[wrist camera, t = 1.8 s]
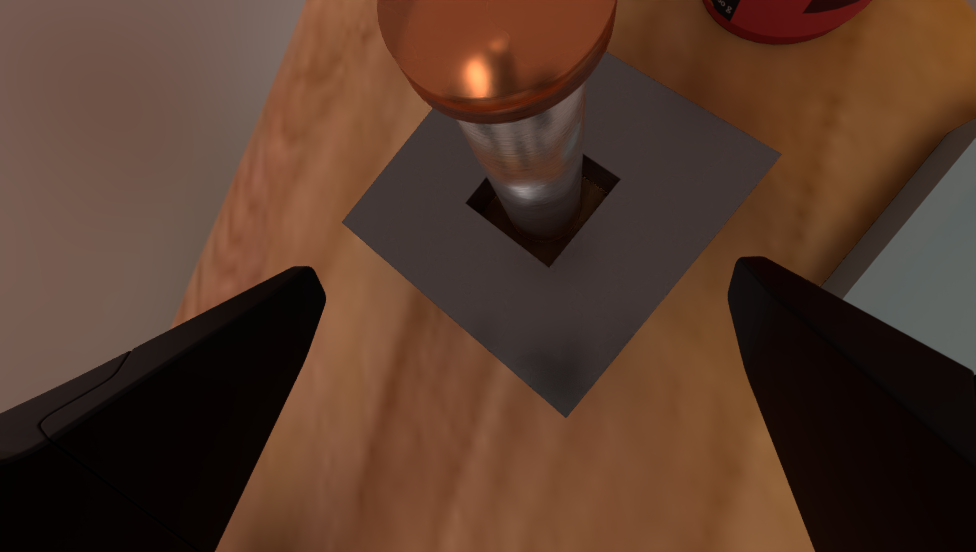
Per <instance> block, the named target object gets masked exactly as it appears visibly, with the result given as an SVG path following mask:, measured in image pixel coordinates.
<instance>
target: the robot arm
mask: <svg viewBox="0 0 976 552" xmlns="http://www.w3.org/2000/svg"><path fill="white" fill-rule="evenodd" d="M325 303H326V295H325V292H324V289H323V287H322V285H321V283H320V281H319V279H318V277H317V275H316V272H315V271H314V269H313V268H312V267H309V266H294V267H291V268H289V269H287V270H285V271H283V272H281V273H279V274H277V275H276V276H274V277H272V278H270V279H268V280H266V281H264V282H262V283H260V284H258V285H256V286H254V287H252V288H250V289H248V290H246V291H244V292H242V293H241V294H239V295H237V296H235V297H233V298H231V299H229V300H227V301H225V302H223V303H221V304H219V305H217V306H215V307H213V308H211V309H209V310H208V311H206V312H204V313H202V314H200V315H198V316H196V317H194V318H192V319H190V320H188V321H186V322H184V323H182V324H180V325H178V326H176V327H175V328H173V329H171V330H169V331H167V332H165V333H163V334H161V335H159V336H157V337H155V338H153V339H151V340H149V341H147V342H145V343H143V344H142V345H140V346H138V347H136V348H134V349H133V350H132V351H128V352H126V353H124V354H122V355H120V356H119V357H116V358H114V359H112V360H111V361H108V362H106V363H104V364H103V365H100V366H98V367H96V368H94V369H93V370H91V371H88V372H87V373H84V374H82V375H81V376H79V377H76V378H75V379H72V380H70V381H68V382H66V383H64V384H62V385H60V386H58V387H56V388H54V389H51V390H49V391H47V392H45V393H43V394H41V395H39V396H37V397H35V398H32V399H30V400H28V401H26V402H24V403H22V404H20V405H17V406H15V407H13V408H11V409H9V410H7V411H5V412H3V413H0V552H215V550H216V548H217V546H218V544H219V542H220V540H221V538H222V535H223V533H224V531H225V529H226V527H227V525H228V523H229V521H230V519H231V516H232V514H233V512H234V510H235V508H236V506H237V504H238V502H239V499H240V497H241V495H242V493H243V491H244V489H245V487H246V485H247V483H248V480H249V478H250V476H251V474H252V472H253V470H254V468H255V466H256V464H257V461H258V459H259V457H260V455H261V453H262V451H263V449H264V447H265V445H266V442H267V440H268V438H269V436H270V434H271V432H272V430H273V428H274V426H275V423H276V421H277V419H278V417H279V415H280V413H281V411H282V409H283V407H284V404H285V402H286V400H287V398H288V396H289V394H290V392H291V390H292V388H293V385H294V383H295V381H296V379H297V377H298V375H299V373H300V371H301V369H302V366H303V364H304V362H305V360H306V357H307V354H308V352H309V349H310V346H311V344H312V341H313V338H314V335H315V332H316V329H317V326H318V324H319V321H320V318H321V315H322V312H323V309H324V306H325ZM728 304H729V308H730V312H731V316H732V320H733V324H734V328H735V332H736V336H737V341H738V345H739V349H740V353H741V357H742V361H743V365H744V368H745V372H746V374H747V377H748V380H749V383H750V385H751V388H752V390H753V393H754V396H755V398H756V401H757V403H758V406H759V408H760V411H761V414H762V416H763V419H764V421H765V424H766V427H767V429H768V432H769V434H770V437H771V439H772V442H773V445H774V447H775V450H776V452H777V455H778V457H779V460H780V463H781V465H782V468H783V470H784V473H785V475H786V478H787V481H788V483H789V486H790V488H791V491H792V493H793V496H794V499H795V501H796V504H797V506H798V509H799V511H800V514H801V517H802V519H803V522H804V524H805V527H806V529H807V532H808V535H809V537H810V540H811V542H812V545H813V547H814V550H815V552H976V374H975V375H974V372H973V370H971V369H969V368H968V367H966V366H964V365H962V364H960V363H958V362H957V361H955V360H953V359H951V358H949V357H947V356H946V355H944V354H942V353H940V352H938V351H936V350H935V349H933V348H931V347H929V346H927V345H925V344H924V343H922V342H920V341H918V340H916V339H914V338H913V337H911V336H909V335H907V334H905V333H903V332H902V331H900V330H898V329H896V328H894V327H892V326H891V325H889V324H887V323H885V322H883V321H881V320H880V319H878V318H876V317H874V316H872V315H870V314H869V313H867V312H865V311H863V310H861V309H859V308H858V307H856V306H854V305H852V304H850V303H848V302H847V301H845V300H843V299H841V298H839V297H837V296H836V295H834V294H832V293H830V292H828V291H826V290H825V289H823V288H821V287H819V286H817V285H815V284H814V283H812V282H810V281H808V280H806V279H804V278H803V277H801V276H799V275H797V274H795V273H793V272H792V271H790V270H788V269H786V268H784V267H782V266H781V265H779V264H777V263H775V262H773V261H771V260H770V259H768V258H766V257H762V256H753V257H741V258H739V259H738V260H737V262H736V264H735V267H734V271H733V275H732V279H731V282H730V286H729V290H728Z"/></svg>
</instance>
